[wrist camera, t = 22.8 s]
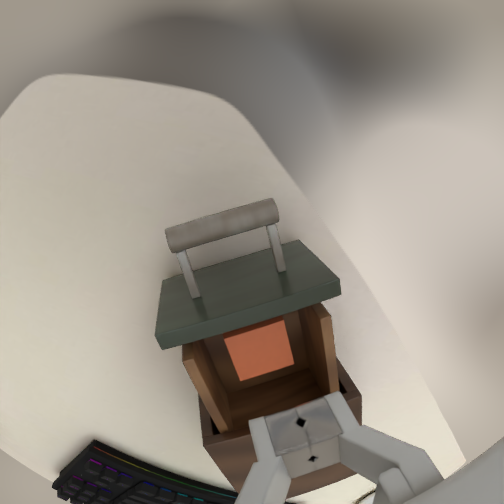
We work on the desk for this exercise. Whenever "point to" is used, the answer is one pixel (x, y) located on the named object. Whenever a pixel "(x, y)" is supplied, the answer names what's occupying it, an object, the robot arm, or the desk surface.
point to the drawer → (249, 316)
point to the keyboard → (130, 482)
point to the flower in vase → (368, 499)
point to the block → (259, 348)
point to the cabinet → (243, 452)
